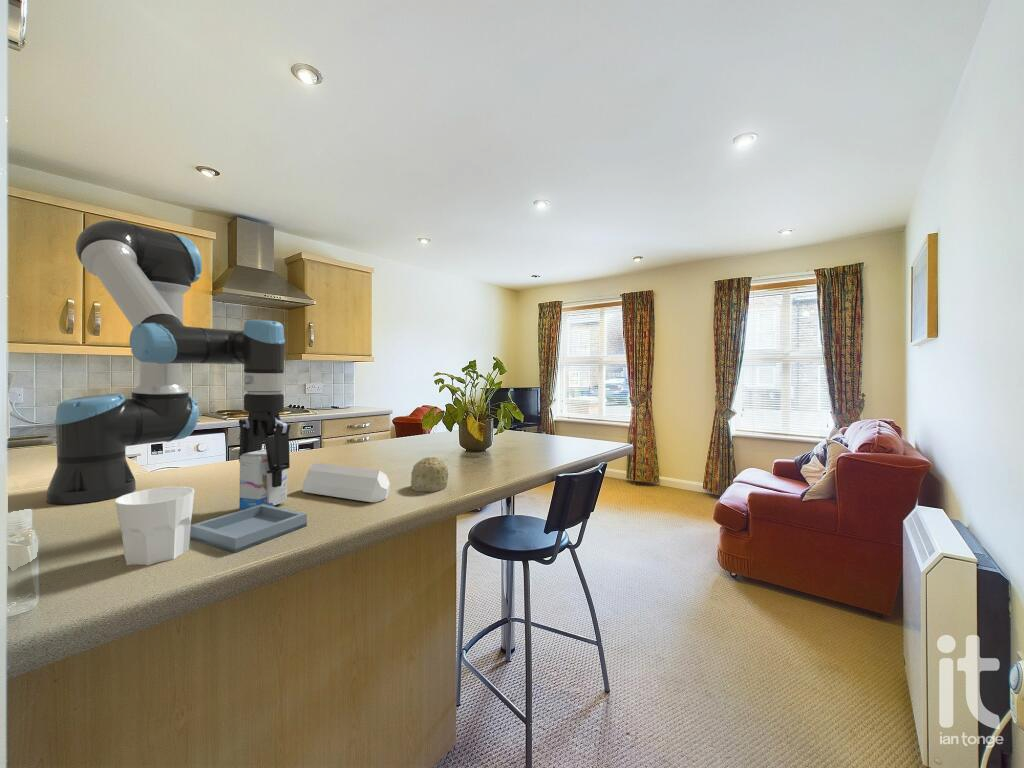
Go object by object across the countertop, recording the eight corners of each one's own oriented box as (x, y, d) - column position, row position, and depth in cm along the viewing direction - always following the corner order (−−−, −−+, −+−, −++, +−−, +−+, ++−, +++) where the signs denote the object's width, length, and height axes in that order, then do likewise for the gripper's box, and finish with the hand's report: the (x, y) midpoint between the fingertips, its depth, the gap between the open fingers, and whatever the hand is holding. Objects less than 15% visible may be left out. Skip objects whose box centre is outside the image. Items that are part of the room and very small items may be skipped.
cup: (98, 568, 67) (97, 504, 67) (151, 542, 77) (150, 486, 77) (164, 569, 67) (163, 505, 67) (208, 542, 77) (208, 487, 77)
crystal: (289, 479, 106) (371, 491, 97) (309, 459, 112) (388, 469, 103) (302, 501, 110) (382, 514, 101) (321, 481, 115) (398, 492, 107)
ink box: (258, 512, 91) (258, 455, 91) (238, 510, 92) (237, 454, 92) (288, 500, 99) (287, 448, 99) (269, 498, 100) (268, 447, 100)
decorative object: (432, 507, 110) (455, 473, 110) (399, 484, 109) (422, 451, 110) (437, 499, 119) (458, 468, 120) (406, 478, 119) (427, 447, 119)
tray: (189, 538, 79) (189, 525, 79) (262, 515, 91) (262, 504, 91) (235, 552, 73) (235, 538, 73) (306, 525, 86) (306, 513, 86)
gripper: (219, 391, 95) (219, 496, 96) (277, 396, 87) (277, 511, 88) (252, 389, 102) (252, 488, 103) (309, 394, 94) (308, 501, 95)
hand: (263, 498), depth 96 cm, fingers closed on ink box, 6 cm apart
